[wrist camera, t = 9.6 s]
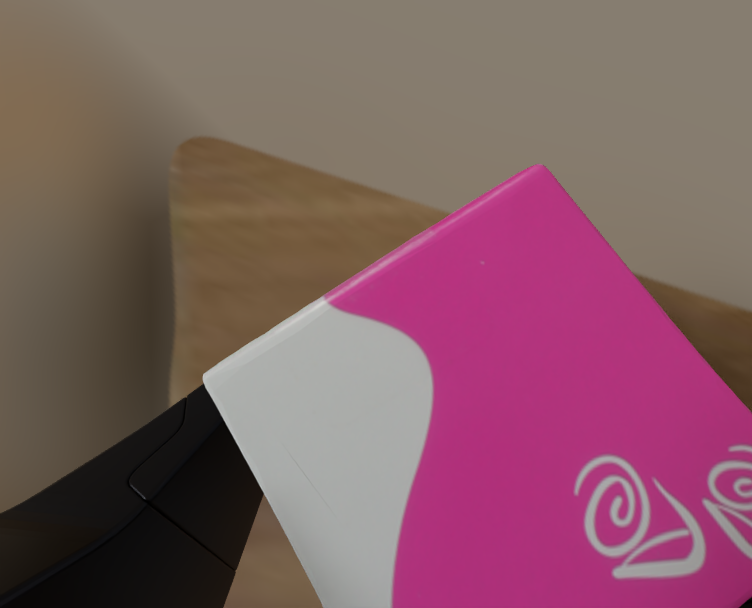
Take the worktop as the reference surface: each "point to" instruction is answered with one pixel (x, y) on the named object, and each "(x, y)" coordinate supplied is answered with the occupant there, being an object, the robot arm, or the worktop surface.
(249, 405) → the supplement box
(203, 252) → the worktop surface
